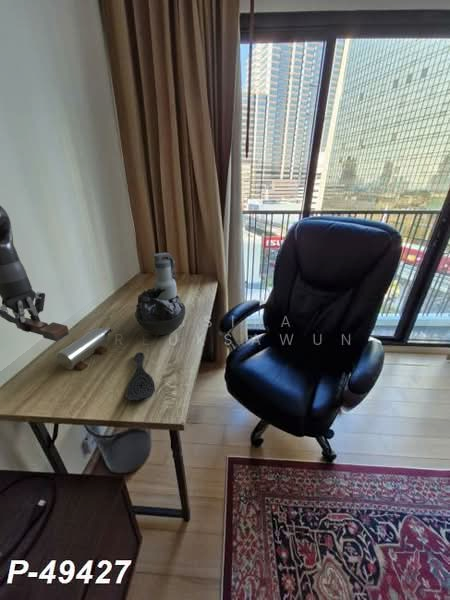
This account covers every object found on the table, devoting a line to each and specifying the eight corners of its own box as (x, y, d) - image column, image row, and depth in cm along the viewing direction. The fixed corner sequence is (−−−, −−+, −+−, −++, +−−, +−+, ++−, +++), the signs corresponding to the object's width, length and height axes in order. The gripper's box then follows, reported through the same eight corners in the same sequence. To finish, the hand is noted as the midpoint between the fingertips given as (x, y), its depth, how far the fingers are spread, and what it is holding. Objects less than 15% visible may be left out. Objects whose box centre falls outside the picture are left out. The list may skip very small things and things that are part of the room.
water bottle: (174, 303, 129) (168, 249, 117) (182, 310, 122) (176, 254, 109) (155, 308, 124) (146, 253, 112) (162, 316, 117) (153, 258, 104)
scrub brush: (14, 329, 79) (10, 321, 77) (28, 322, 82) (24, 314, 81) (56, 342, 72) (53, 333, 71) (70, 334, 76) (66, 325, 75)
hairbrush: (150, 345, 93) (154, 392, 71) (151, 353, 94) (156, 402, 72) (126, 350, 90) (123, 400, 69) (128, 358, 92) (126, 410, 70)
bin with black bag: (157, 315, 118) (150, 278, 109) (195, 322, 112) (192, 283, 103) (128, 339, 101) (119, 298, 93) (172, 349, 95) (165, 305, 86)
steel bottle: (77, 374, 84) (70, 355, 80) (60, 368, 86) (52, 350, 83) (119, 340, 100) (115, 323, 97) (103, 337, 103) (99, 320, 99)
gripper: (26, 267, 78) (45, 316, 85) (-27, 284, 66) (0, 338, 74) (43, 270, 75) (61, 320, 83) (-10, 288, 64) (16, 343, 71)
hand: (32, 328), depth 78 cm, fingers closed on scrub brush, 2 cm apart
